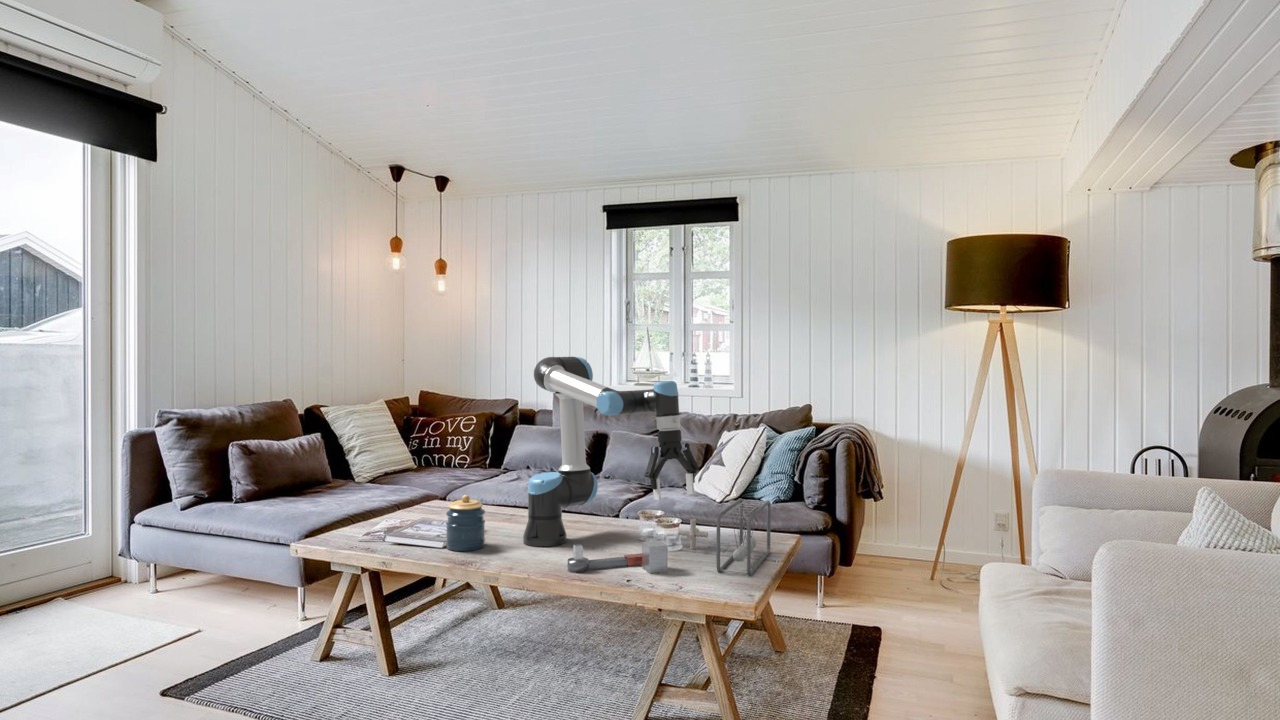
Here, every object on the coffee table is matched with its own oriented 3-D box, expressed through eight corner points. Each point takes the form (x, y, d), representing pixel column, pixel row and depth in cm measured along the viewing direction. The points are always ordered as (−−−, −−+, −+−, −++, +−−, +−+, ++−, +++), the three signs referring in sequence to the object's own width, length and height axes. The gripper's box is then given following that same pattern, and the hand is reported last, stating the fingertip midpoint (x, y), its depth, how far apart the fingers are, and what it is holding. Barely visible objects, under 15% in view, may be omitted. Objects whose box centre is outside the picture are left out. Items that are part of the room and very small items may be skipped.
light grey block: (642, 568, 226) (642, 542, 226) (660, 566, 228) (660, 540, 228) (649, 573, 220) (649, 547, 220) (667, 571, 223) (667, 545, 222)
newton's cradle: (739, 549, 249) (740, 496, 249) (770, 552, 245) (770, 499, 245) (715, 573, 221) (716, 515, 221) (750, 578, 217) (750, 518, 217)
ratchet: (565, 567, 226) (565, 543, 226) (646, 559, 235) (646, 536, 235) (570, 573, 220) (570, 548, 220) (653, 565, 229) (653, 541, 229)
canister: (487, 541, 257) (487, 491, 256) (481, 551, 244) (482, 498, 243) (450, 542, 256) (450, 491, 256) (442, 552, 243) (442, 499, 243)
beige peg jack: (682, 543, 255) (682, 515, 255) (710, 546, 252) (710, 517, 252) (674, 551, 245) (675, 521, 245) (704, 554, 242) (704, 523, 242)
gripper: (644, 432, 224) (650, 502, 222) (706, 426, 238) (711, 492, 237) (630, 433, 230) (635, 501, 228) (691, 427, 244) (696, 491, 243)
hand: (674, 496), depth 232 cm, fingers open, 13 cm apart
